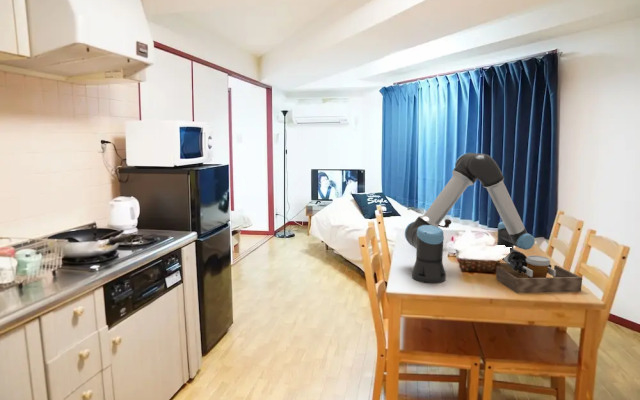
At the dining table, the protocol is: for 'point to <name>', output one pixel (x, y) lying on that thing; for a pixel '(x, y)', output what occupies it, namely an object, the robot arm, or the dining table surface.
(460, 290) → the dining table surface
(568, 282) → the walnut crate
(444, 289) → the dining table surface
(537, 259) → the disposable coffee cup
